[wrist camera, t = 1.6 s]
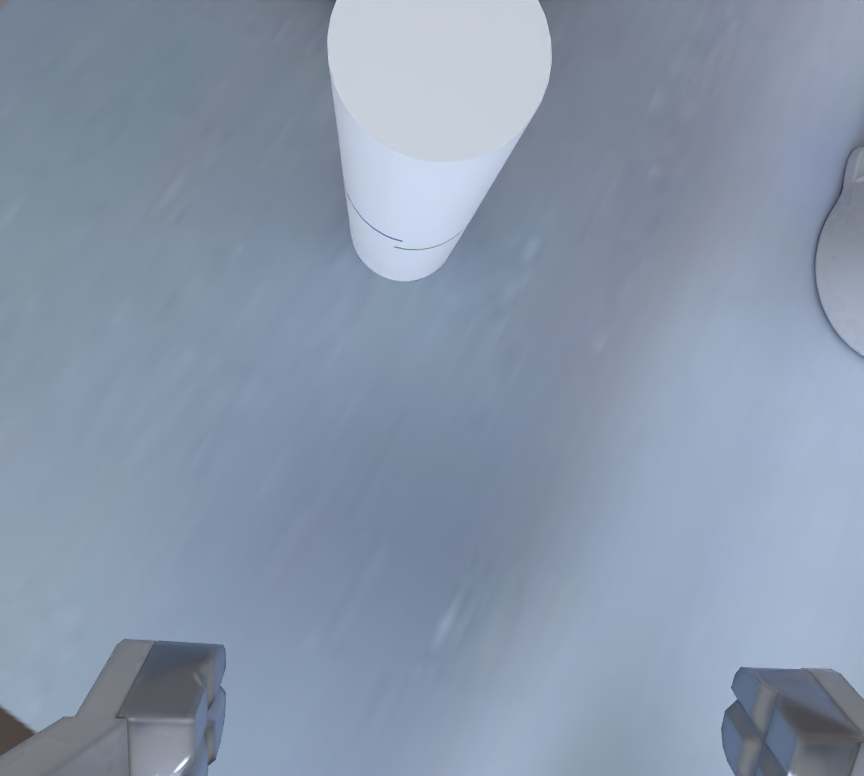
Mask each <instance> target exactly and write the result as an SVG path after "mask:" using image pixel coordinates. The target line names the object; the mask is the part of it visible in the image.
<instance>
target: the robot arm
mask: <svg viewBox="0 0 864 776" xmlns="http://www.w3.org/2000/svg"><path fill="white" fill-rule="evenodd" d="M815 274H816V283H817V289H818V294H819V297H820V301H821V304H822V306H823V309H824V311H825V313H826V316H827V318H828V319H829V321H830V323H831V325H832V326H833V328H834V329H835V331H836V332H837V333H838V334H839V336H840V337H841V338H842V339H843V340H844V341H845V342H846V343H847V344H848V345H849V346H850V347H851V348H852V349H853V350H855V351H856V352H857V353H859V354H860V355H862V356H863V357H864V146H861V147H859V148H857V149H855V150H854V151H853V152H852V153H851V154H850V156H849V158H848V161H847V165H846V170H845V176H844V183H843V190H842V193H841V195H840V197H839V199H838V201H837V203H836V204H835V206H834V208H833V209H832V211H831V213H830V214H829V216H828V218H827V220H826V222H825V224H824V226H823V229H822V232H821V235H820V238H819V242H818V246H817V252H816V262H815ZM225 669H226V652H225V648H224V645H218V644H203V643H187V642H172V641H151V640H133V639H124V640H122V641H121V642H120V643H118V644H117V645H116V647H115V649H114V650H113V652H112V654H111V656H110V657H109V659H108V661H107V662H106V664H105V666H104V668H103V669H102V671H101V673H100V674H99V676H98V678H97V679H96V681H95V683H94V685H93V686H92V688H91V690H90V691H89V693H88V695H87V697H86V698H85V700H84V702H83V703H82V705H81V707H80V708H79V710H78V712H77V714H76V715H75V717H63V718H61V719H59V720H58V721H56V722H55V723H53V724H51V725H50V726H48V727H47V728H45V729H43V730H42V731H40V732H39V733H37V734H35V735H34V736H32V737H31V738H29V739H27V740H26V741H24V742H22V743H21V744H19V745H18V746H16V747H15V748H13V749H11V750H10V751H8V752H7V753H5V754H3V755H2V756H0V776H208V766H209V765H210V764H211V763H212V762H213V761H215V760H216V756H217V753H218V749H219V746H220V742H221V736H222V731H223V726H224V718H225V707H226V692H225V691H224V689H223V688H222V687H221V686H220V684H221V681H222V678H223V675H224V672H225ZM731 689H732V690H733V692H734V694H735V696H736V698H737V700H736V701H735V702H734V703H733V704H732V705H731V706H730V707H729V708H728V709H727V710H725V714H724V718H723V723H722V728H721V731H722V743H723V749H724V752H725V755H726V758H727V761H728V763H729V765H730V767H731V769H732V771H733V773H734V774H735V776H864V699H863V698H862V697H861V696H860V695H859V694H858V693H857V692H856V690H855V689H854V688H853V687H852V686H851V685H850V684H849V683H848V681H847V680H846V679H845V678H844V677H843V676H842V675H841V674H840V673H838V672H836V671H835V670H833V669H816V668H801V669H779V668H752V667H740V669H739V670H738V671H737V672H736V674H735V676H734V679H733V683H732V686H731Z"/></svg>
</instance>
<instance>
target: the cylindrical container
mask: <svg viewBox="0 0 864 776" xmlns="http://www.w3.org/2000/svg"><path fill="white" fill-rule="evenodd" d="M327 43H328V63H329V70H330V78H331V85H332V93H333V100H334V107H335V115H336V122H337V129H338V137H339V145H340V153H341V162H342V170H343V178H344V186H345V193H346V201H347V208H348V215H349V224H350V233H351V238H352V242H353V246H354V248H355V250H356V252H357V254H358V256H359V257H360V258H361V260H362V261H363V262H364V264H365V265H366V266H367V267H369V268H370V269H371V270H372V271H373V272H375V273H377V274H378V275H380V276H382V277H385V278H387V279H390V280H396V281H413V280H418V279H422V278H424V277H426V276H428V275H430V274H432V273H433V272H435V271H436V270H437V269H439V268H440V267H441V266H442V265H443V264H444V262H445V261H446V260H447V259H448V257H449V255H450V254H451V252H452V250H453V249H454V247H455V245H456V244H457V242H458V240H459V239H460V237H461V235H462V234H463V232H464V230H465V229H466V227H467V225H468V224H469V222H470V220H471V219H472V217H473V215H474V214H475V212H476V210H477V209H478V207H479V205H480V204H481V202H482V200H483V199H484V197H485V195H486V194H487V192H488V190H489V189H490V187H491V185H492V184H493V182H494V180H495V179H496V177H497V175H498V174H499V172H500V170H501V169H502V167H503V165H504V164H505V162H506V160H507V159H508V157H509V155H510V154H511V152H512V150H513V149H514V147H515V145H516V144H517V142H518V140H519V139H520V137H521V135H522V134H523V132H524V130H525V129H526V127H527V125H528V124H529V122H530V120H531V119H532V117H533V115H534V113H535V112H536V110H537V108H538V107H539V105H540V103H541V101H542V99H543V96H544V93H545V90H546V88H547V85H548V82H549V76H550V69H551V63H552V54H551V37H550V33H549V29H548V25H547V20H546V16H545V14H544V12H543V10H542V8H541V5H540V3H539V1H538V0H337V1H336V3H335V6H334V9H333V11H332V14H331V18H330V24H329V30H328V37H327Z"/></svg>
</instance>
